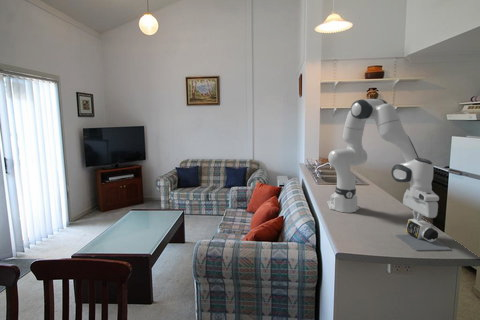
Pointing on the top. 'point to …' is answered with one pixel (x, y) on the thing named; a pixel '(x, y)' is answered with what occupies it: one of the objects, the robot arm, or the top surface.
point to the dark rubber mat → (422, 243)
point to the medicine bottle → (421, 230)
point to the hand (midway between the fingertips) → (417, 220)
